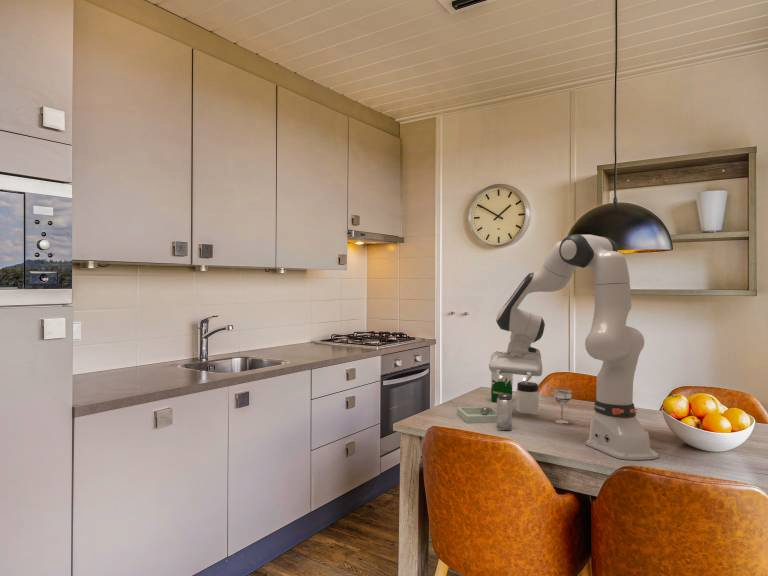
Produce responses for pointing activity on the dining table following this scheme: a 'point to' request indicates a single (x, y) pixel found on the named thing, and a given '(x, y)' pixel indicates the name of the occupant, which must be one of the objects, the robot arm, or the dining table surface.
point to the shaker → (504, 412)
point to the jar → (527, 398)
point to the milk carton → (501, 385)
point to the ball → (484, 411)
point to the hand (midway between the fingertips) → (512, 381)
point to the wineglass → (562, 400)
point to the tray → (477, 415)
